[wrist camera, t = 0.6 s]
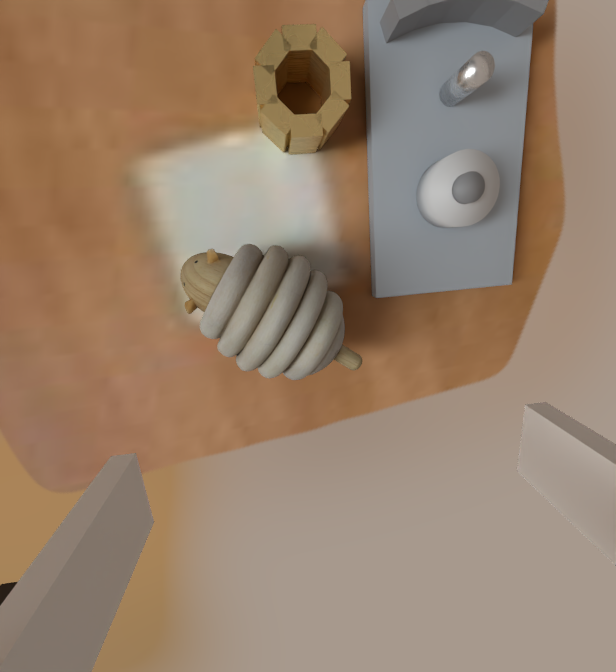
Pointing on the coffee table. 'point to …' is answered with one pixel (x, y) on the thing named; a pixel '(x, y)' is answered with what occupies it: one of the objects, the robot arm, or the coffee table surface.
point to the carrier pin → (467, 78)
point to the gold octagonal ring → (301, 66)
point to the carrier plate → (444, 142)
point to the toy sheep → (268, 311)
